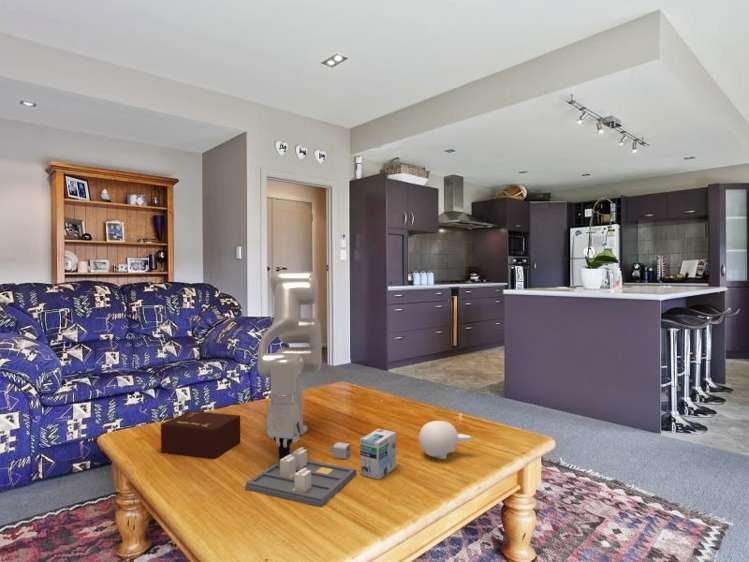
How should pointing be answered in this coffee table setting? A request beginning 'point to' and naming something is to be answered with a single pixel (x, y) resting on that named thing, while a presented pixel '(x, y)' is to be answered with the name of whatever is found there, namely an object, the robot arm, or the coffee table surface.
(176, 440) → the box
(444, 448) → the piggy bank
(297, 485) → the tab
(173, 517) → the coffee table surface
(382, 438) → the light bulb box
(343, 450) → the usb wall charger
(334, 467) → the switch bank
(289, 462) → the tab
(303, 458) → the tab
